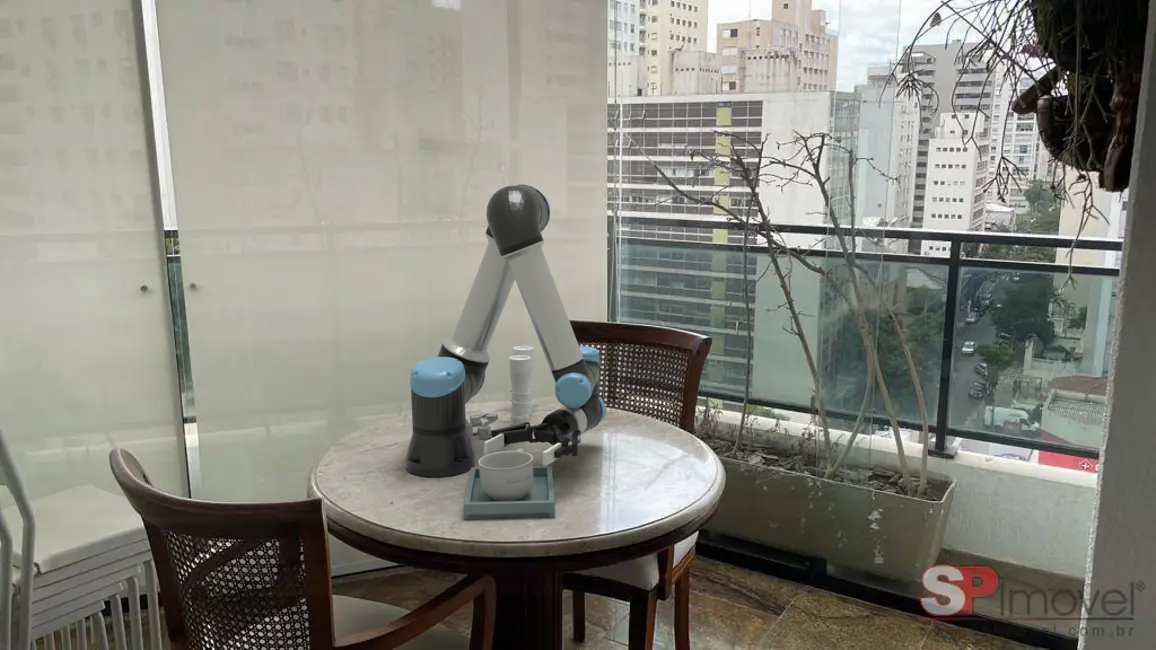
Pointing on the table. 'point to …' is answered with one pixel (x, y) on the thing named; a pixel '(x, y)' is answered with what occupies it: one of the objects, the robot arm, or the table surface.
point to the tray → (529, 506)
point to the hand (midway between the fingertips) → (514, 454)
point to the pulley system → (480, 425)
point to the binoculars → (521, 384)
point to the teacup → (506, 474)
